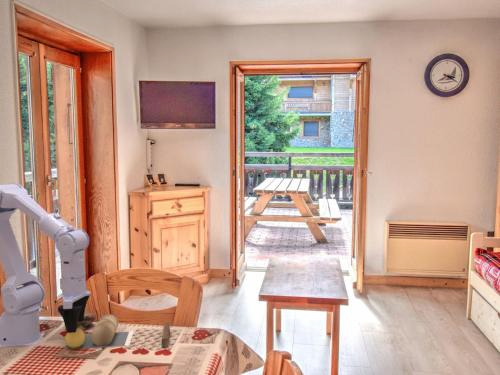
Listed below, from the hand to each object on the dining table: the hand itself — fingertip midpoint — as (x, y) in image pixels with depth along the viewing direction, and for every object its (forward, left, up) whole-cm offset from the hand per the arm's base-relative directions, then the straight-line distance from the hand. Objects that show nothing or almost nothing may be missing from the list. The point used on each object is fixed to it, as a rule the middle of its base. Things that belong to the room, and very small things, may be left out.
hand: (75, 326), depth 120 cm
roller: (+7, +4, -6) cm, 10 cm away
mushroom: (-2, +14, -7) cm, 16 cm away
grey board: (+6, +4, -6) cm, 9 cm away
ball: (0, 0, -6) cm, 6 cm away
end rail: (+23, +4, -6) cm, 25 cm away
